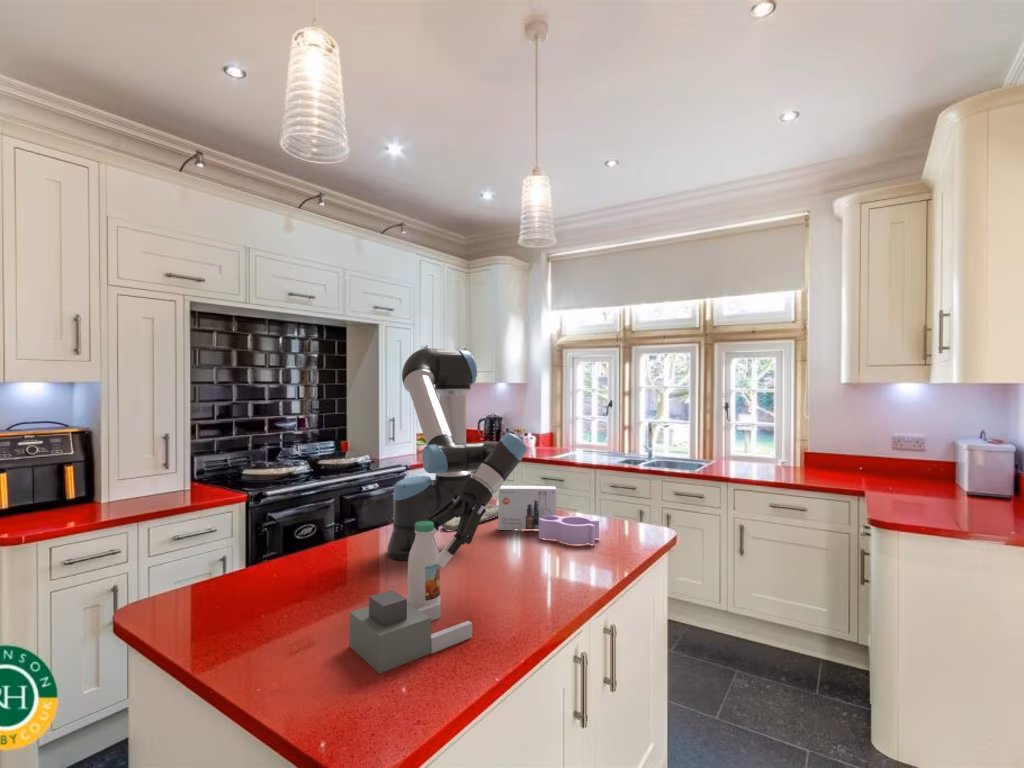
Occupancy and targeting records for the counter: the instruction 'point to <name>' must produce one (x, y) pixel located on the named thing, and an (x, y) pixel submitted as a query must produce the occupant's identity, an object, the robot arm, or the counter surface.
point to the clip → (569, 529)
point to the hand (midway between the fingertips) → (426, 556)
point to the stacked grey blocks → (399, 631)
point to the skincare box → (524, 506)
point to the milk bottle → (423, 567)
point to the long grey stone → (489, 513)
